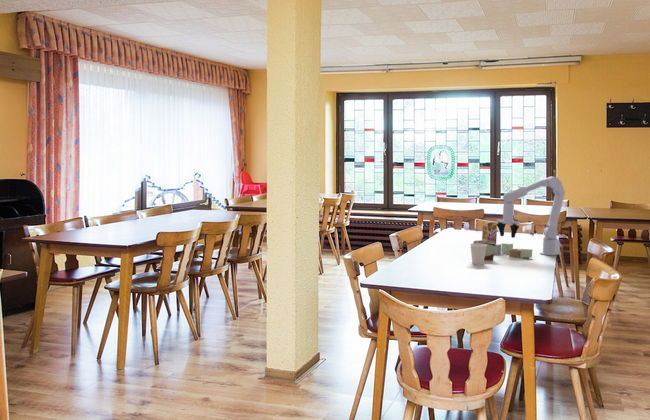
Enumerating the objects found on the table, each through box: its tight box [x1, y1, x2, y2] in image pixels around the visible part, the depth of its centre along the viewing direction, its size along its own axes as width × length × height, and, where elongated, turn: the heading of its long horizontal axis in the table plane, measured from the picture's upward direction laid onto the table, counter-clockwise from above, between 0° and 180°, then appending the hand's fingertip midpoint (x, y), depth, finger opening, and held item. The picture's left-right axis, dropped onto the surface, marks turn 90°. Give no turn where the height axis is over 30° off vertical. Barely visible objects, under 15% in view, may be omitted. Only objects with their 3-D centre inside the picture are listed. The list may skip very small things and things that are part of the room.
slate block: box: [494, 243, 502, 256], centre depth 360 cm, size 4×4×6 cm
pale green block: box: [520, 248, 533, 260], centre depth 345 cm, size 3×6×5 cm, turn 72°
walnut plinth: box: [509, 248, 522, 259], centre depth 351 cm, size 6×6×4 cm
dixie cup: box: [469, 243, 487, 265], centre depth 327 cm, size 8×8×10 cm
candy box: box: [481, 221, 498, 243], centre depth 386 cm, size 9×4×15 cm, turn 123°
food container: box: [472, 239, 497, 262], centre depth 340 cm, size 12×6×10 cm, turn 65°
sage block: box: [501, 242, 514, 255], centre depth 363 cm, size 4×4×6 cm
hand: (507, 236), depth 363 cm, fingers open, 7 cm apart
